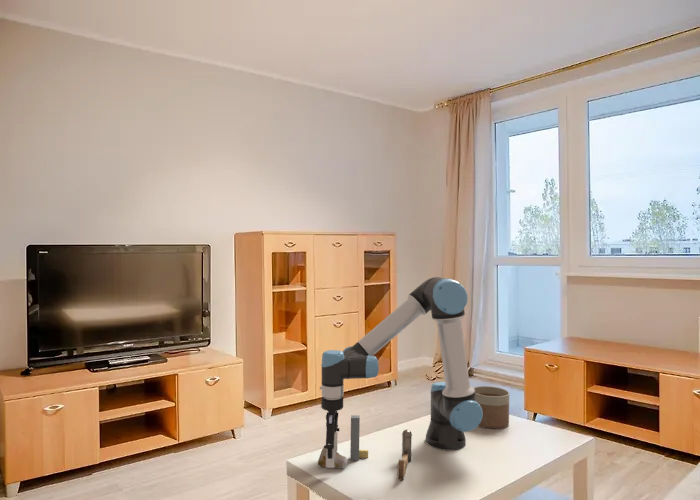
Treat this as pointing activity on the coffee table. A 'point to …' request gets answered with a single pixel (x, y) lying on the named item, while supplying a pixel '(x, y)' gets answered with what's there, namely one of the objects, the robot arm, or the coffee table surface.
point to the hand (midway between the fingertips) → (331, 458)
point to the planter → (493, 406)
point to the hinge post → (406, 443)
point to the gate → (402, 466)
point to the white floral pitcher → (338, 459)
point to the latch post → (356, 440)
